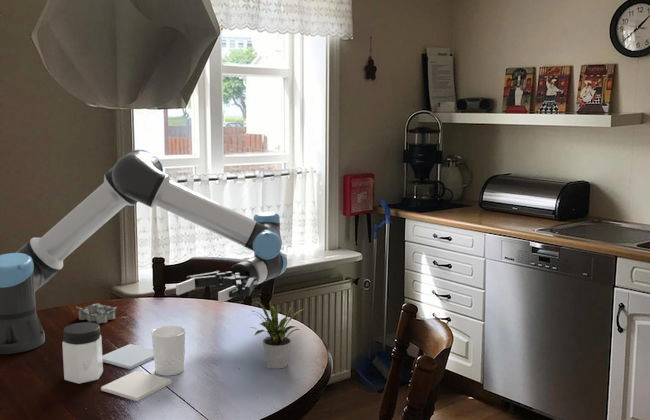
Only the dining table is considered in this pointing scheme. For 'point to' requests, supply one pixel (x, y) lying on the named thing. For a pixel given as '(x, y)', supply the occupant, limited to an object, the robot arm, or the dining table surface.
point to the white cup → (168, 350)
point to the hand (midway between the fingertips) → (197, 293)
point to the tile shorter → (136, 385)
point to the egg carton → (101, 310)
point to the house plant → (276, 338)
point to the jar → (82, 352)
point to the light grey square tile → (129, 356)
